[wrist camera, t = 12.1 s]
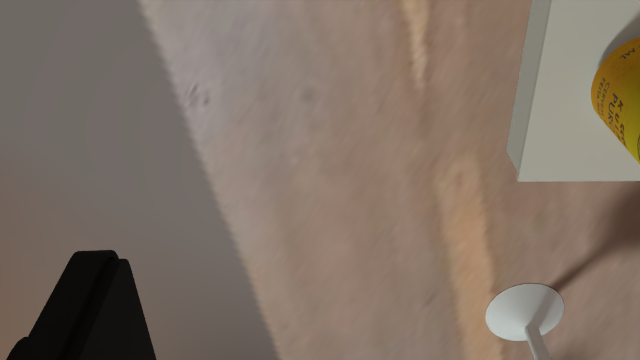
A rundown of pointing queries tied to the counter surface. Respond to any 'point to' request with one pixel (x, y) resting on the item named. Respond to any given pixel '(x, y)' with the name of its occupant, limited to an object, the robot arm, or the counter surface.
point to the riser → (569, 92)
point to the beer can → (620, 94)
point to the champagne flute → (526, 315)
